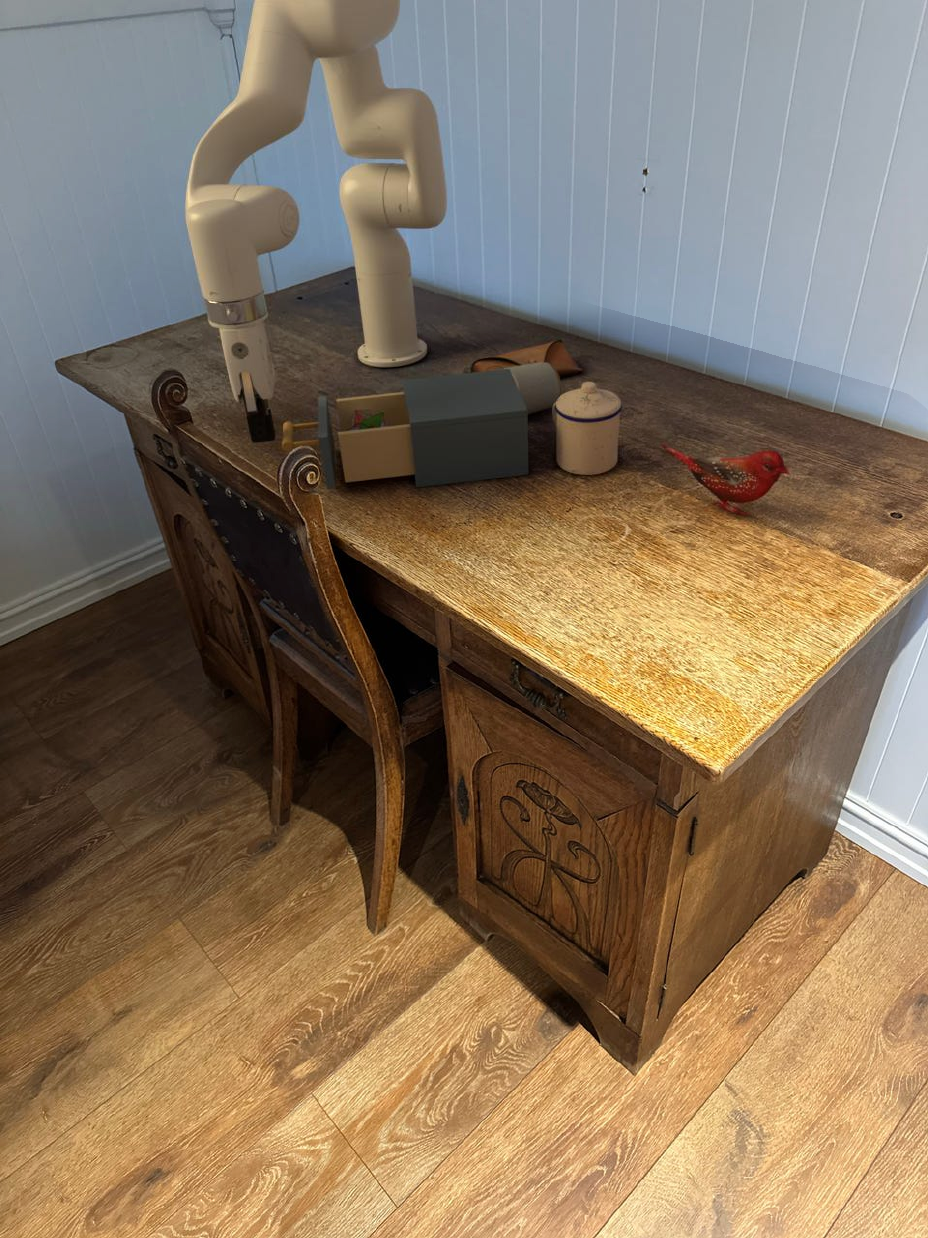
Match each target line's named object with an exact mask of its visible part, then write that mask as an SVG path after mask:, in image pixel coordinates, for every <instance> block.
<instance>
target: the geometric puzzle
mask: <svg viewBox="0 0 928 1238" xmlns="http://www.w3.org/2000/svg"><path fill="white" fill-rule="evenodd" d="M378 412H380V411H378ZM382 417H384V411H383V412H381V413H379V414H377V415H373V414H372V413H370V412H369V411H368V410H356V409H355V412H354V413H353V416H352V427H351V428H352V430H361V429H370V428H379V427H387V426H386V425H385V422H384V423H383V422H382ZM350 419H351V418H350ZM387 420H388V419H387ZM347 424H348V423H347ZM351 428H350V429H351ZM348 430H349V429H348ZM348 430H347V431H348ZM352 430H350V431H352ZM343 431H344V430H343Z"/></svg>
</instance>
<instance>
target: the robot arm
mask: <svg viewBox="0 0 928 1238" xmlns="http://www.w3.org/2000/svg"><path fill="white" fill-rule="evenodd" d="M400 9H401V0H254V3H253V6H252V12H251V18H250V24H249V27H248V34H247V38H246V40H247V41H246V46H245V51H244V52H245V53H244V57H243V58H244V59H243V62H242V63H243V64H242V70H241V74H240V81H239V86H238V92H237V95H236V96H235V98H234V100H232V101H231V102H230V104H228V105H227V106H226V108H225V109H224V110H223V111H222V112H221V113H220V114H219V115H218V116H217V117H216V119H215V120H214V121H213V122H212V124H211V125H210V126H209V128H208V129H207V130H206V132H205V133H203V136H202V137H201V138H200V141H199V142H198V144H197V146H196V148H195V150H194V153H193V155H192V159H191V161H190V162H191V163H190V168H189V173H188V179H187V184H186V185H187V186H186V191H185V204H184V211H185V212H184V213H185V214H184V215H185V224H186V229H187V234H188V238H189V242H190V246H191V251H192V256H193V259H194V264H195V269H196V272H197V273H196V274H197V277H198V281H199V286H200V290H201V294H202V299H203V303H204V307H205V312H206V316H207V321H208V324H209V325H210V326H211V327H213V328H216V329H218V331H219V336H220V340H221V347H222V351H223V355H224V356H223V357H224V360H225V365H226V369H227V373H228V378H229V382H230V386H231V390H232V394H233V397H234V400H235V402H237V403H238V404H242V402H243V405H244V410H245V414H246V415H245V416H246V421H247V425H248V430H249V435H250V440H251V443H253V444H257V443H265V442H273V441H275V439H276V429H275V425H274V420H273V414H272V410H271V408H270V405H269V401H271V400H272V399H273V397H274V392H275V386H276V385H275V384H276V371H275V367H274V363H273V357H272V355H271V350H270V345H269V340H268V336H267V331H266V328H265V324H264V321H265V320H266V319H268V317H269V313H268V306H267V301H266V296H265V290H264V285H263V281H262V275H261V271H260V265H259V260H258V259H259V256H261V255H265V254H268V253H273V252H277V251H279V250H282V249H284V248H286V247H287V246H288V245H290V243H292V241H293V240H294V239H295V237H296V235H297V234H298V231H299V227H300V210H299V208H298V207H299V206H298V204H297V202H296V201H295V199H294V197H293V196H292V195H291V194H290V193H289V192H288V191H286V190H285V189H283V188H280V187H278V186H273V185H265V184H264V185H263V184H262V185H260V184H258V185H257V184H256V185H255V184H230V182H231V180H232V178H233V175H234V174H235V173H236V171H237V169H238V168H239V167H240V166H241V165H242V163H244V162H245V161H246V160H247V159H248V158H250V157H251V156H252V155H253V154H255V153H257V152H259V151H260V150H262V149H264V148H265V147H267V146H270V145H272V144H273V143H275V142H277V141H279V140H281V139H282V138H284V137H286V136H288V135H290V134H291V133H294V131H296V130H297V129H298V128H299V127H300V126H301V125H302V124H303V122H304V119H305V116H306V110H307V102H308V97H309V91H310V85H311V80H312V75H313V74H312V73H313V68H314V64H315V61H316V60H319V63H320V66H321V68H322V73H323V76H324V81H325V86H326V91H327V96H328V100H329V105H330V110H331V114H332V115H331V116H332V119H333V124H334V129H335V133H336V137H337V141H338V144H339V146H340V148H341V150H342V151H343V153H344V154H346V155H347V156H349V157H351V158H356V159H362V160H363V159H364V160H402V161H404V162H405V163H395V162H367V163H358V164H356V165H353V166H351V167H349V168H348V169H347V170H346V171H345V172H344V174H343V175H342V177H341V179H340V182H339V188H338V189H339V190H338V191H339V201H340V204H341V208H342V212H343V215H344V218H345V221H346V225H347V228H348V233H349V237H350V241H351V247H352V253H353V258H354V259H353V260H354V267H355V269H354V271H355V276H356V284H357V292H358V300H359V308H360V315H361V324H362V331H363V339H364V343H363V344H362V345H361V346H359V348H358V349H357V358H358V360H359V361H360V362H361V363H362V364H364V365H367V366H369V367H375V368H398V367H404V366H408V365H411V364H414V363H416V362H418V361H420V360H422V359H424V358H425V356H426V355H427V353H428V345H427V343H426V342H425V341H424V340H423V339H420V338H418V328H417V327H418V326H417V318H416V306H415V295H414V294H415V293H414V284H413V272H412V262H411V254H410V250H409V247H408V245H407V242H406V241H405V239H404V237H403V236H402V234H401V233H400V231H399V230H398V229H405V230H406V229H407V230H408V229H409V230H413V229H414V230H426V229H428V230H429V229H433V228H436V227H438V226H439V225H440V224H442V222H443V221H444V219H445V217H446V213H447V207H448V191H447V181H446V173H445V164H444V157H443V149H442V141H441V134H440V133H441V132H440V126H439V120H438V115H437V114H438V113H437V111H436V108H435V105H434V103H433V100H432V99H431V98H430V96H429V95H428V94H427V93H426V92H424V91H423V90H421V89H417V88H410V87H405V88H404V87H399V88H395V87H393V88H392V87H388V86H387V85H386V84H385V82H384V81H385V80H384V78H383V72H382V68H381V67H382V66H381V62H380V55H379V52H378V49H377V47H376V45H377V44H378V43H380V42H382V41H383V40H385V39H386V38H387V37H388V36H390V34H392V32H393V30H394V29H395V27H396V25H397V22H398V20H399V16H400Z"/></svg>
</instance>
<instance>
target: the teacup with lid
mask: <svg viewBox="0 0 928 1238" xmlns="http://www.w3.org/2000/svg"><path fill="white" fill-rule="evenodd" d="M551 408H552V409H551V414H552V415H551V416H552V420H553V423H554V426H555V428H556V430H555V431H556V436H555V437H556V438H555V439H556V443H555V444H556V445H555V448H556V451H555V453H556V455H555V456H556V457H555V459H556V463H557V465H558V467H560V469H562V470H564V472H567V473H570V474H574V475H580V476H594V475H600V474H603V473H606V472H608V471H610V470H612V469H613V468H614V467H615V466H616V465H617V463H618V457H619V456H618V455H619V453H618V452H619V435H620V418H621V417H620V416H621V411H622V409H623V403H622V401H621V399H620V397H619V396H618V395H617V394H615V393H613V392H612V391H610V390H608V389H607V390H606V389H602V388H598V387H597V384H596V383H595V382H593V381H585V382H582V384H581V387H579V388H576V389H572V390H569V391H566V392H564V393H562V394H561V395H560V397H559V398H558V400H557V401H556V402H555V403H554V405H553V406H552V407H551Z"/></svg>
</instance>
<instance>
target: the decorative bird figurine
mask: <svg viewBox="0 0 928 1238" xmlns="http://www.w3.org/2000/svg"><path fill="white" fill-rule="evenodd" d="M661 447H662V448H663V449H664V450H665V451H666V452H668V453H669V454H671V456H673V457H674V458H676V459H677V460H679V461H680V462H681V463H683V464H684V466H686V467H687V468H688V469H689V471H690V472H691V474H692V475H693V476H694V479H695V480H696V481H697V482H698V483H699V484H700V485H701V486H703V487H704V488H706V489H707V490H708V491H709V492H710V493H711V494H712V495H713V496H715V497H716V498H717V499H718V500H719V501H716V502H714V503H713V505H718V508H721V509H724V510H726V511H729V512H730V513H732V514H735V515H744V516H748V517H751V515H750V514H748V513H746V512H743V511H741V510H740V509H739V508H737V507H734V506H733V505H731V504H730V503H734V504H745V503H751V502H755V501H757V500H759V499H761V498H763V497H765V495H766V494H768V493H769V492H770V490H771V489H772V487H773V486H774V484H775V483H777V482H779V479H780V478H781V475H782V474H785V475H790V472H789V470H788V469H787V466H786V465H785V462H784V459H783V456H782V455H781V454H780V453H779V452H778V451H776V450H772V449H771V450H770V449H769V450H768V449H767V450H760V451H756V452H755V453H752V454H751V455H748V456H744V457H743V456H742V457H730V456H708V457H707V456H706V457H699V458H693V457H691V456H689V455H687V454H685V453H683V452H680V451H678V450H676V449H674V448H671V447H670V446H668V445H665V444H661Z"/></svg>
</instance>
